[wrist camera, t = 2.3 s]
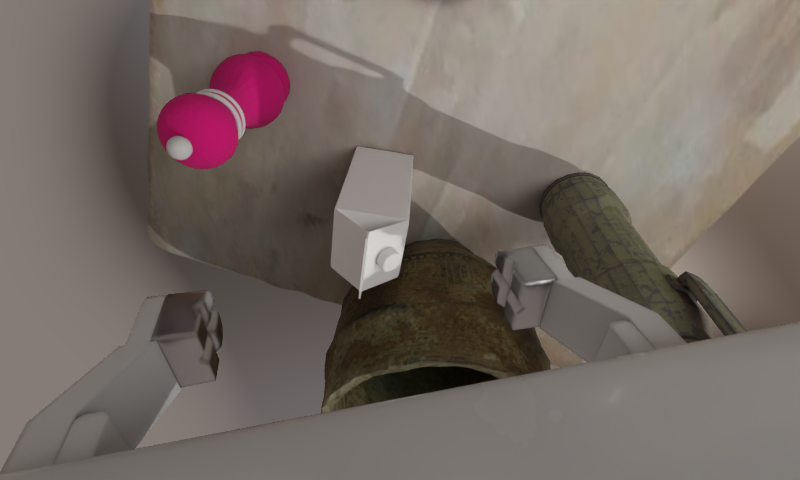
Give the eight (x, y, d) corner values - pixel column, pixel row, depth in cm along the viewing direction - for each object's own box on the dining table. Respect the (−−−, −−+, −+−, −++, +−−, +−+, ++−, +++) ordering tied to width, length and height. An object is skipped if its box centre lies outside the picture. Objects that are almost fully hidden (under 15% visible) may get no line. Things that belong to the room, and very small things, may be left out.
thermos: (519, 227, 56) (615, 518, 28) (570, 151, 49) (766, 430, 21) (576, 248, 57) (722, 544, 29) (633, 177, 51) (894, 470, 22)
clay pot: (334, 313, 68) (294, 471, 47) (371, 181, 53) (336, 326, 33) (479, 348, 71) (500, 511, 50) (552, 232, 56) (622, 395, 36)
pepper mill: (219, 54, 45) (101, 114, 29) (280, 39, 44) (193, 93, 28) (246, 118, 49) (157, 202, 33) (303, 106, 48) (239, 187, 32)
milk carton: (352, 195, 55) (322, 293, 39) (356, 145, 50) (325, 232, 35) (405, 203, 55) (396, 304, 39) (414, 154, 51) (408, 245, 35)
